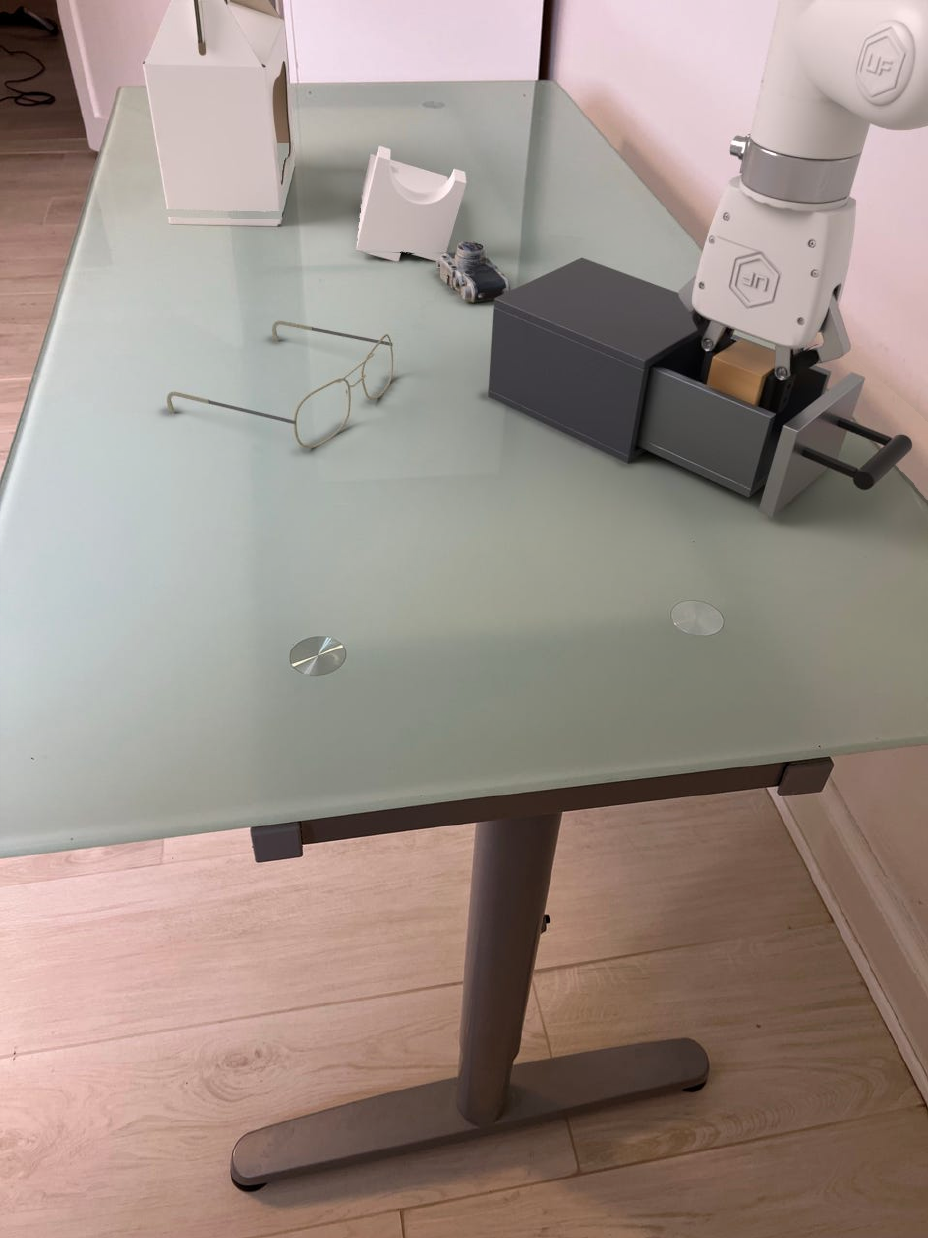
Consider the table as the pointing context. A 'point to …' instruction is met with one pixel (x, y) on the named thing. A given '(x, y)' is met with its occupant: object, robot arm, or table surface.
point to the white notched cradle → (407, 208)
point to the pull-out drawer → (757, 430)
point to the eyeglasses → (275, 338)
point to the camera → (472, 273)
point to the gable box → (220, 108)
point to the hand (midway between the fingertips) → (740, 401)
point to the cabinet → (584, 351)
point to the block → (742, 370)
